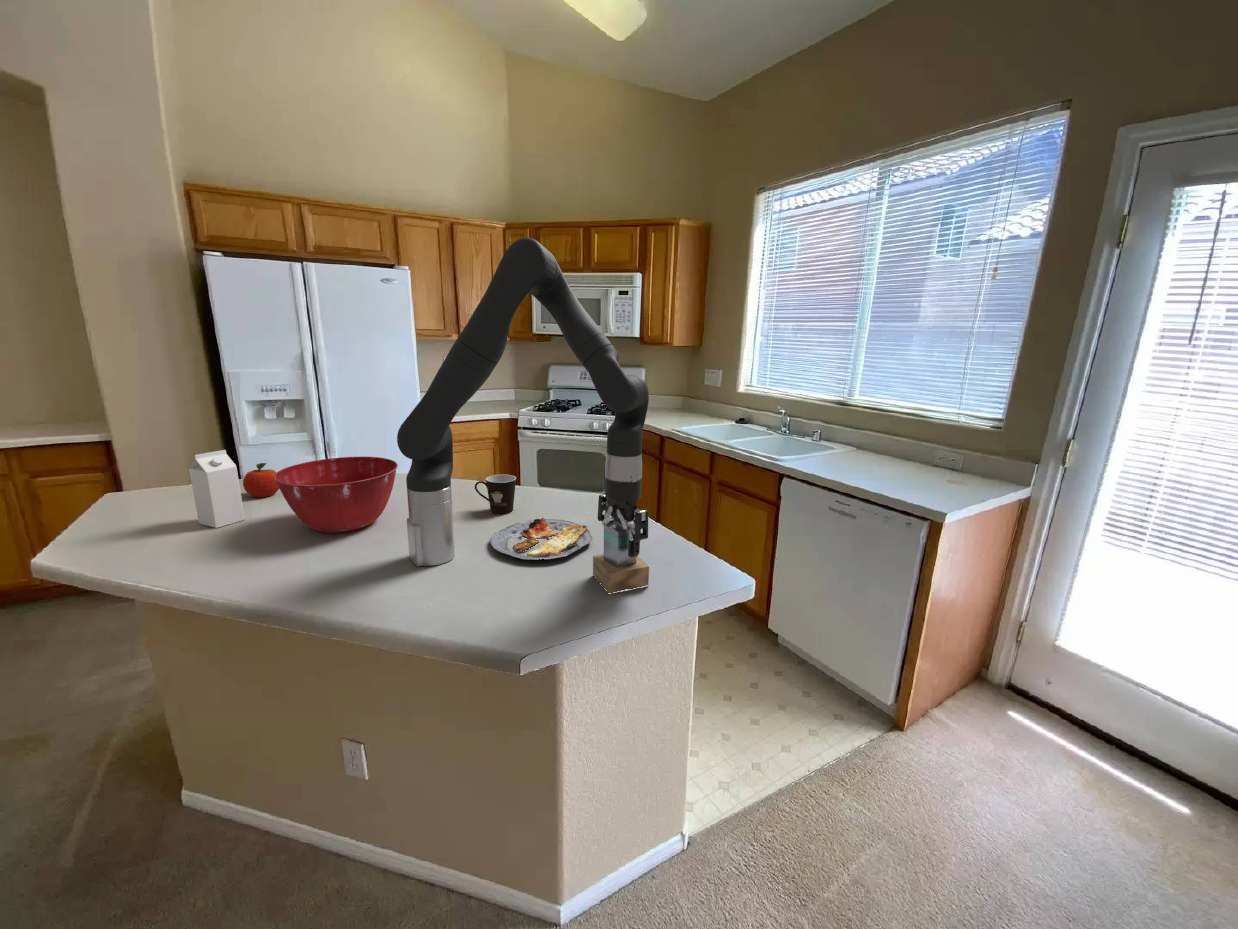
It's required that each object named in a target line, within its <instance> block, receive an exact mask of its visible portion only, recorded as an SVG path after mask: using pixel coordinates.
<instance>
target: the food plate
mask: <svg viewBox="0 0 1238 929" xmlns="http://www.w3.org/2000/svg"><path fill="white" fill-rule="evenodd" d="M553 530H557V531H561V533H560V532H558V533H560V534H558V533H556V532H554V531H553ZM518 532H520V533H519V534H521V535H522V537H524V538H527V539H526V540H524V541H523V542H521V543H520V542H516V543H514V544H513V545H512V548H514V549H515V550H514V549H513V550H514V551H512V550H511V549H510V548H509V546H508V545H509V544H508V541H509V540H511V538H513V537H512V536H511V534H516V533H518ZM521 535H520V536H521ZM514 536H516V535H514ZM552 536H554V537H553V538H552V539H549V541H547V542H544V544H542V543H541V544H542V545H541V546H540V547H538V548H537V547H536V548H534V550H532V551H530V552H529V553H526V555H524V554H521V553H519V552H523V551H525V550H528V549H529V548H531V547H533V546H535V545H536V544H538V543H539V540H536V539H547V538H548V537H552ZM513 539H514V538H513ZM592 541H593V537H592V535H591V533H590V530H589V529H588V526H587V525H582V524H578V523H575V522H572V521H569V520H563V519H554V518H553V519H551V518H549V519H548V518H544V517H542V518H536V519H532V520H531V519H530V520H526V521H522V522H516V523H514V524H512V525H509V526H507V527H505V528H503V529H500V530H498V531H496V532H494V533H493V534H492V535H491V536H490V538H489V543H490V544H489V545H491V546H492V548H493V549H494V550H495V551H498V552H499V553H502V554H505V555H507V556H509V557H513V558H519V559H521V560H536V561H537V560H539V559H540V561H543V560H542V559H544V560H551V559H552V560H553V559H557V558H563V557H567V556H569V555H572V554H573V553H574V552H577V551H579V550H580V549H581V548H583V547H585V546H587V545H588V544H590V543H591V542H592ZM507 546H508V547H507ZM508 548H509V549H508ZM516 551H517V552H516ZM518 551H519V552H518ZM528 551H529V550H528ZM561 552H562V553H561ZM523 553H524V552H523Z"/></svg>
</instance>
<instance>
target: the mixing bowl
mask: <svg viewBox="0 0 1238 929" xmlns="http://www.w3.org/2000/svg"><path fill="white" fill-rule="evenodd" d="M398 468H399V465H398V463H397V462H396V461H395V460H392V459H390V458H386V457H378V456H344V457H332V458H324V459H318V460H317V459H315V460H310V461H305V462H301V463H297V464H293V465H290V466H288V467H285V468H282V469H279V470H278V471H276V472H277V473H275V475H274V476H273V479H274V480H275V481H276V482H277V484H278V486H279V490H280V492H281V494H282V497H283V498H284V500H285V501H286V503H287V504H288V506H289V508H290V509H291V510H292V512H293V513H294V514H295V515H296V517H297V518H298V519H299V520H300V521H301V522H302V524H304V525H305V526H307V527H309V528H311V529H313V530H316V531H318V532H321V533H326V534H342V533H349V532H355V531H358V530H361V529H364V528H366V527H368V526H370V525H371V524H372V523H373V522H375V521H376V520H378V518H379V517H381V515H382V514H383V513H384V510H385V509H386V507H387V505H388V502H389V500H390V497H391V494H392V492H393V489H394V488H393V487H394V483H395V480H396V472H397V469H398Z"/></svg>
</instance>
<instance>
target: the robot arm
mask: <svg viewBox="0 0 1238 929" xmlns="http://www.w3.org/2000/svg"><path fill="white" fill-rule="evenodd" d="M528 294H530V295H532V296H533V297H534V298H535V299H536V300H537V301H538V302H540V304H541V305H542V306H543V307H544V308H545V309H546V310H547V311H548V313H549V314H550V315H551V316H552V318H553V320H554V321H555V323H556V324H557V326H558V328H559V330H560V332H561V334H562V336H563V337H564V340H565V341H566V344H567V345H568V347H569V349H571V352H572V353H573V354H574V356H575V357H576V358H577V360H578V361H579V363H580V364H581V366H583V368H584V369H585V371H587V373H588V374H589V377H590V379H591V382H592V384H593V386H594V388H595V390H596V392H597V394H598V396H599V398H600V400H601V401H602V403H603V404H604V405H605V406H606V407H607V408H608V409H609V410H611V411H612V412H614V414H615V415H614V419H613V422H612V423H611V425H610V426H609V427H608V428H607V435H606V436H607V437H606V439H607V440H606V455H605V456H606V457H605V465H604V494H603V493H602V494H599V496H598V504H597V521H598V522H601V524H602V526H603V527H604V524H607V523H612V522H619V523H620V524H621V525H622V526H623V528H624V530H625V531H627V533H628V536H629V539H630V540H629V548H628V556H629V557H631V558H633V557H636V556H638V557H639V555H640V548H641V541H642V540H646V539H648V538H649V511H648V510H647V509H639V508H638V501H639V500H640V498H642V485H643V484H642V481H643V458H642V454H643V453H642V451H643V450H642V449H643V430H644V427H645V426H644V425H645V424H646V423H645V422H646V418H647V412H648V408H649V400H650V396H649V393H650V392H649V387H648V384H647V383H646V381H645V380H644V379H643V378H642V377H641V376H639V375H635V374H626V373H625V372H624V370H623V368H622V367H621V366H620V364H619V360H620V358H619V353H618V351H617V350H616V348H615V347H614V345H613V344H612V342H611V341H610V340H609V339H608V337H607V336H606V335H605V333H604V332H603V331H602V329H601V328H600V327H599V325H598V324H597V323H596V321H595V320H594V319H593V318H592V316H591V315H590V314H589V313H588V312H587V311H586V309H585V307H583V305H582V304H581V303H580V301H579V299H578V298H577V297H576V294H575V293H574V292H573V290H572V289H571V287H570V285H569V283H568V281H567V279H566V277H565V275H564V273H563V271H562V269H561V267H560V265H559V263H558V261H557V259H556V258H555V256H554V255H553V254H552V252H551V251H549V250H548V249H547V248H546V247H545V246H543V244H541V242H539V241H538V240H537V239H534V238H531V237H521V238H519V239H516V240H515V241H513V242H512V243H511V244H510V245H509V246H508V248H507V249H506V250H505V252H504V253H503V255H502V257H501V260H500V261H499V263H498V265H497V268H496V270H495V272H494V273H493V276H492V278H491V280H490V282H489V285H488V287H487V289H486V290H485V292H484V295H483V296H482V298H481V299H480V301H479V303H478V304H477V306H476V308H475V310H474V311H473V312H472V314H471V316H470V318H469V319H468V321H467V323H466V324H465V326H464V327H463V329H462V330H461V332H460V333H459V335H458V337H457V338H456V340H455V341H454V342H453V345H451V347H450V349H449V351H448V353H447V355H446V357H445V359H444V361H443V362H442V363H441V365H440V367H439V369H438V370H437V372H436V373H435V375H434V377H433V380H432V381H431V383H430V385H429V387H428V388H427V390H426V392H425V393H424V395H423V397H422V398H421V399H420V400H419V402H418V403H417V405H416V406H415V407H414V408H413V409H412V411H411V412H410V413H409V415H408V416H407V417H406V418H405V419H404V421H403V422H402V423H401V425H400V427H399V429H398V432H397V437H396V442H397V447H398V449H399V451H400V453H401V454H402V455H403V456H404V457H405V458H407V459H410V460H411V463H410V464H411V465H410V468H409V470H408V472H407V475H406V478H405V479H406V481H405V482H406V491H407V492H406V494H407V507H408V518H406V527H407V528H406V529H407V541H408V542H407V543H408V555H409V556H408V557H409V559H410V560H411V561H412V562H413V564H414V565H415V566H416V567H422V566H425V567H426V566H429V567H430V566H438V565H442V564H445V563H448V562H450V561H451V560H452V559H454V557H455V541H454V540H455V538H454V518H453V516H454V515H453V500H452V499H453V498H452V481H451V480H452V479H451V478H452V475H453V474H452V473H453V472H454V471H453V470H454V469H453V468H454V447H453V446H454V444H453V442H454V441H453V432H452V429H451V426H450V425H451V423H452V422H453V420H454V418H455V417H456V415H457V414H458V412H459V411H460V409H461V408H462V407H464V406H465V405H466V403H467V402H468V401H469V400H470V399H471V398H472V397H473V396H474V395H475V394H476V393H477V391H479V389H481V387H482V386H484V384H485V383H486V382H487V380H488V379H489V377H490V376H491V375H492V373H493V372H494V370H495V368H496V367H497V365H498V363H499V362H500V360H501V358H502V356H503V354H504V352H505V350H506V345H507V342H508V337H509V333H510V327H511V324H512V321H513V318H514V316H515V314H516V312H517V310H518V309H519V307H520V305H521V304H522V303H523V301H524V300H525V298H526V297H527V295H528ZM629 523H631V524H632V525H629ZM632 529H634V530H635V534H633V532H632Z"/></svg>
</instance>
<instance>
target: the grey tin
mask: <svg viewBox="0 0 1238 929" xmlns="http://www.w3.org/2000/svg"><path fill="white" fill-rule="evenodd" d="M632 524H633V523H632V522H631V523H629V525H632ZM632 532H633V534H635V530H634V529H632ZM629 540H630V539H629V536H628V533H627V531H625V530H624V528H623V526H622V525H621V524H620V523H619V522H612V523H607V524H604V526H603V554H604V560H605V561H607V562H608V563H610V564H611V565H613V566H614V567H616V568H620V567H623V566H627V565H630V564H633V563H636V561H637V556H636V557H633V558H631V557H629V556H628V548H629Z"/></svg>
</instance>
